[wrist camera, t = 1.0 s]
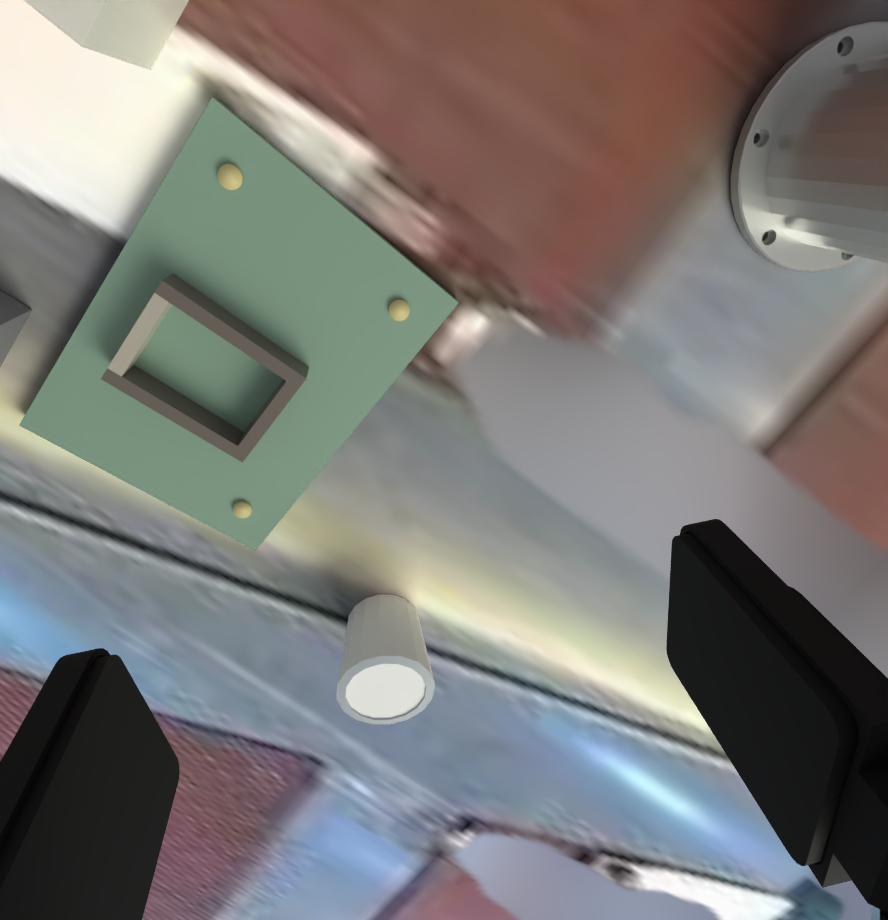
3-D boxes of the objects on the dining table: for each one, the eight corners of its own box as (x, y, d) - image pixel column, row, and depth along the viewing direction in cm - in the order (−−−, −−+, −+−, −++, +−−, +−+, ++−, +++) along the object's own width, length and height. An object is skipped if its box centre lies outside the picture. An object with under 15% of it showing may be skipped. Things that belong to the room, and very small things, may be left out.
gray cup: (322, 629, 47) (315, 702, 41) (376, 573, 45) (377, 641, 39) (389, 665, 50) (393, 738, 44) (443, 613, 48) (455, 683, 42)
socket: (173, 273, 32) (162, 280, 31) (309, 367, 36) (306, 378, 34) (114, 367, 34) (100, 379, 33) (248, 448, 38) (242, 462, 36)
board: (216, 98, 30) (210, 96, 29) (456, 298, 36) (459, 303, 35) (27, 418, 36) (16, 427, 35) (257, 542, 42) (254, 553, 41)
